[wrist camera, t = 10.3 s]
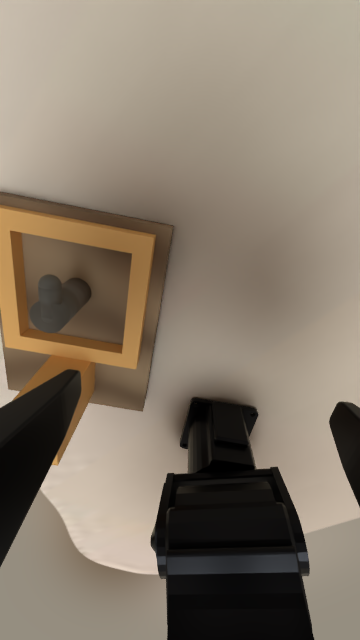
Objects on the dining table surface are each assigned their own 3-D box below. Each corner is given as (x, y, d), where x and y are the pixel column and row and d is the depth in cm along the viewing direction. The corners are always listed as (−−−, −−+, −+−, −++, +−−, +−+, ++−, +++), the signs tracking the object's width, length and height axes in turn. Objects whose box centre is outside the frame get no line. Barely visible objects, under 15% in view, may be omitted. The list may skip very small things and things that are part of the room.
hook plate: (145, 399, 25) (132, 457, 20) (18, 378, 25) (-31, 431, 19) (173, 225, 18) (165, 240, 13) (-2, 191, 18) (-88, 191, 12)
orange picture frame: (0, 204, 17) (-115, 212, 11) (156, 234, 17) (135, 259, 11) (19, 378, 23) (-47, 449, 17) (133, 397, 23) (112, 473, 17)
